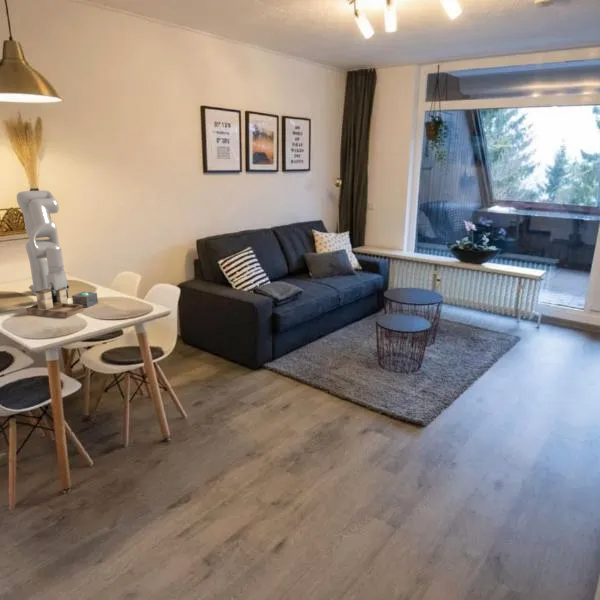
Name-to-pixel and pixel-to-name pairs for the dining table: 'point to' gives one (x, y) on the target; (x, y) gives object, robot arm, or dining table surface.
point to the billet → (61, 295)
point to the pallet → (57, 310)
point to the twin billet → (44, 298)
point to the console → (85, 299)
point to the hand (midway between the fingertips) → (60, 300)
